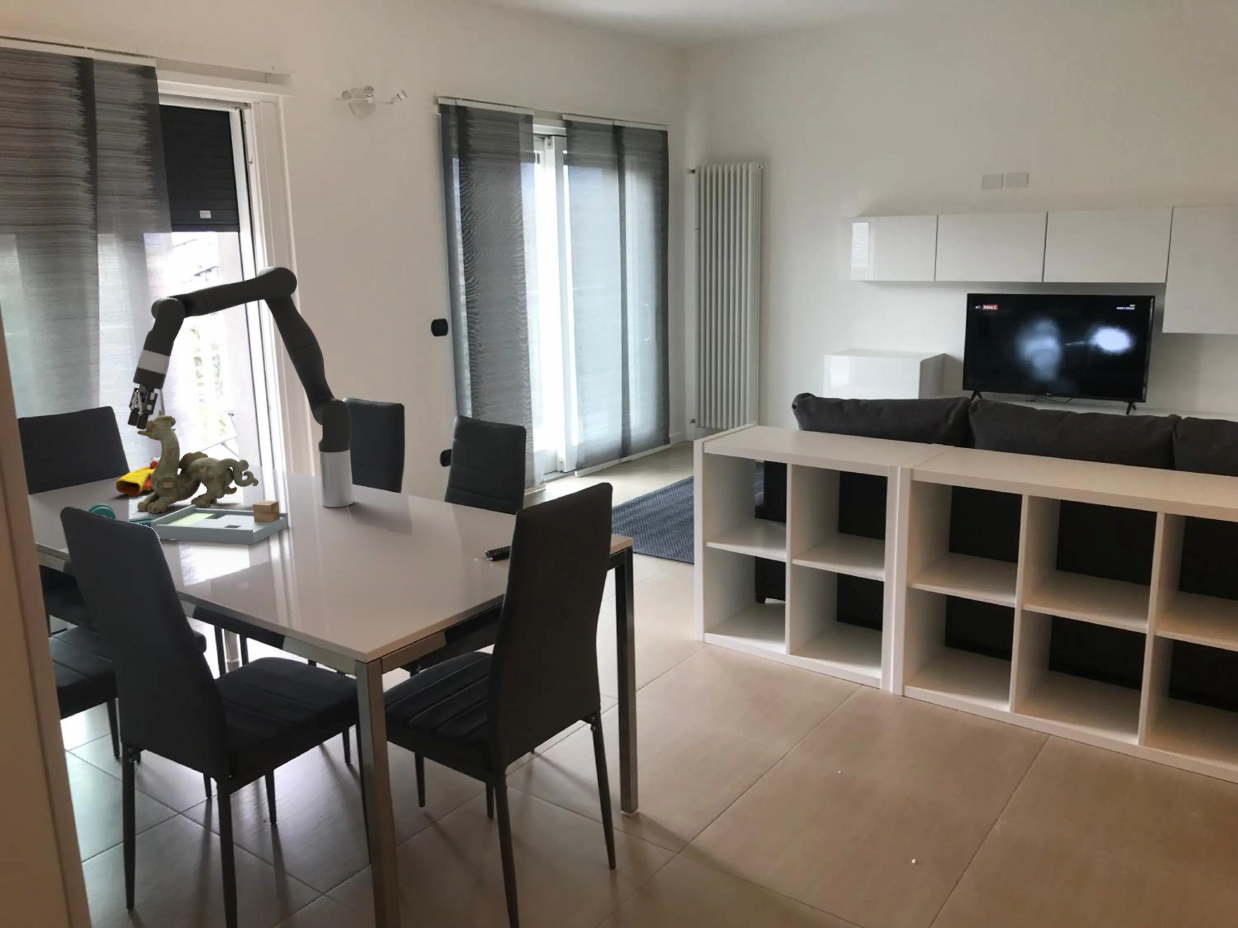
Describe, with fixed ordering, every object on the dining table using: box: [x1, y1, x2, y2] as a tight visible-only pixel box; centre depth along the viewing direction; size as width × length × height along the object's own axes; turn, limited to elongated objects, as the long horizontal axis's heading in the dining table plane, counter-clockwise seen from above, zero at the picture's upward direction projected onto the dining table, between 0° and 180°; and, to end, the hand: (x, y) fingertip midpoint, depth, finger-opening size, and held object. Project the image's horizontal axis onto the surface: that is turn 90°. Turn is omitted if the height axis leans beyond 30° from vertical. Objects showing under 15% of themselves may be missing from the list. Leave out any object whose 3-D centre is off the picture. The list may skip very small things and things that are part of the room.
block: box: [252, 499, 280, 523], centre depth 279 cm, size 5×5×5 cm
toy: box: [115, 455, 161, 497], centre depth 334 cm, size 9×13×30 cm
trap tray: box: [151, 504, 289, 546], centre depth 277 cm, size 19×30×5 cm, turn 79°
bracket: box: [87, 502, 159, 527], centre depth 281 cm, size 18×7×8 cm, turn 121°
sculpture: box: [136, 409, 260, 514], centre depth 307 cm, size 29×27×30 cm
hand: (135, 427), depth 267 cm, fingers open, 8 cm apart
